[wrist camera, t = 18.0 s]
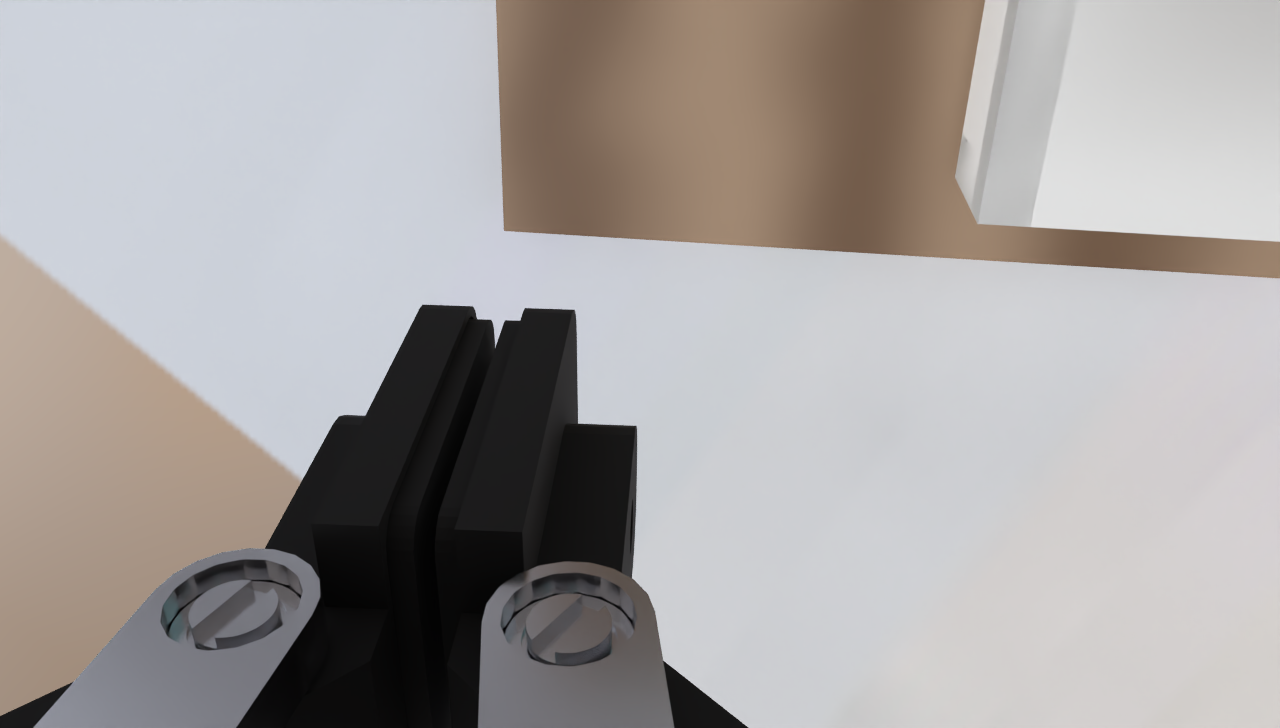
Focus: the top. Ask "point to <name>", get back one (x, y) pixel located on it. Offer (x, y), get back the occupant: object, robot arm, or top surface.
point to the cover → (1126, 117)
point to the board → (773, 132)
